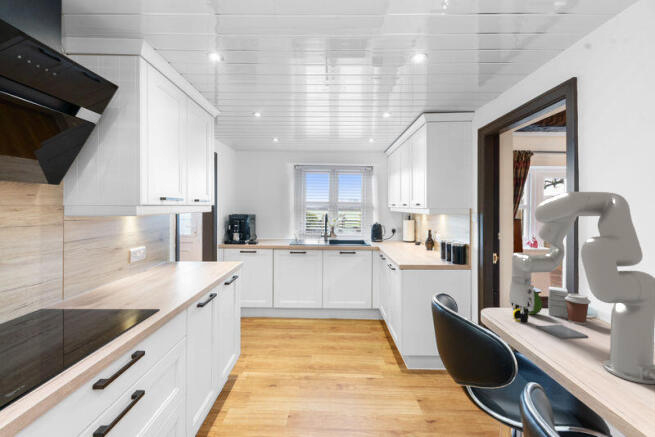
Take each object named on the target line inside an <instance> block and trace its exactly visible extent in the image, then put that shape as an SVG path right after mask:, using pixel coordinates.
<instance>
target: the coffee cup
mask: <svg viewBox="0 0 655 437" xmlns="http://www.w3.org/2000/svg"><path fill="white" fill-rule="evenodd" d="M588 297H589V296H587V295H584V294H580V293H568V296H567V297H565V300H567V321H568V322H569V323H571V324H572V323H573V324H576V325H577V324H578V325H587V319H588V312H589V304H591V302H592V301H591V300H590V299H589V298H588Z"/></svg>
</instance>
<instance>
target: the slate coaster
mask: <svg viewBox="0 0 655 437" xmlns="http://www.w3.org/2000/svg"><path fill="white" fill-rule="evenodd" d="M536 328H537V329H539V330H541V331H544V332H546V333H548V334H550V335H553V336H554V337H557V338H559V339H561V340H563V339H579V338H580V339H582V338H584V339H585V338H588V337H589V335H587V334H585V333H582V332H580V331H577V330H575V329H572V328H570V327H568V326H565V325H563V324H552V325H549V324H548V325H536Z"/></svg>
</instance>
